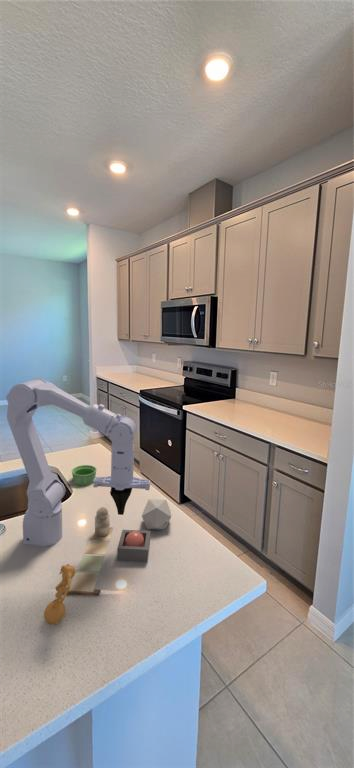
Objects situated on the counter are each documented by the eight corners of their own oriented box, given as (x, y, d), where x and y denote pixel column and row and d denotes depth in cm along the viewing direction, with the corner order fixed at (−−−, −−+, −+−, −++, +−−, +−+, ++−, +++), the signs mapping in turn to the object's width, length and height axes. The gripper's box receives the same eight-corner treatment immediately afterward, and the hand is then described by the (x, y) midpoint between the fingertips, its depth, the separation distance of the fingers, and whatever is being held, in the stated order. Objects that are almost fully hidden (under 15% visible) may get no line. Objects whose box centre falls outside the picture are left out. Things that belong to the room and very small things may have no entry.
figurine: (45, 606, 69) (43, 555, 67) (75, 599, 71) (74, 549, 69) (43, 642, 61) (41, 585, 59) (77, 633, 63) (76, 578, 61)
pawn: (93, 537, 91) (93, 511, 89) (96, 528, 95) (96, 504, 93) (107, 537, 91) (108, 512, 89) (110, 528, 95) (110, 504, 93)
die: (159, 542, 92) (179, 511, 94) (133, 524, 93) (153, 493, 94) (160, 534, 100) (178, 505, 102) (135, 517, 101) (154, 489, 103)
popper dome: (123, 556, 83) (123, 538, 83) (126, 543, 88) (126, 526, 87) (143, 557, 83) (143, 539, 83) (144, 544, 88) (145, 527, 87)
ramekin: (67, 484, 121) (66, 473, 120) (79, 474, 130) (79, 463, 129) (89, 488, 119) (89, 476, 118) (100, 477, 128) (100, 466, 127)
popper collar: (116, 563, 82) (116, 549, 81) (121, 542, 90) (121, 529, 89) (148, 565, 82) (148, 550, 81) (150, 544, 90) (151, 530, 89)
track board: (62, 594, 72) (62, 591, 72) (90, 528, 96) (90, 525, 96) (98, 595, 72) (98, 592, 72) (118, 529, 96) (118, 526, 96)
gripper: (90, 469, 81) (89, 519, 83) (149, 472, 81) (147, 523, 83) (97, 458, 88) (96, 504, 90) (151, 461, 88) (149, 507, 90)
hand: (121, 512), depth 87 cm, fingers closed
